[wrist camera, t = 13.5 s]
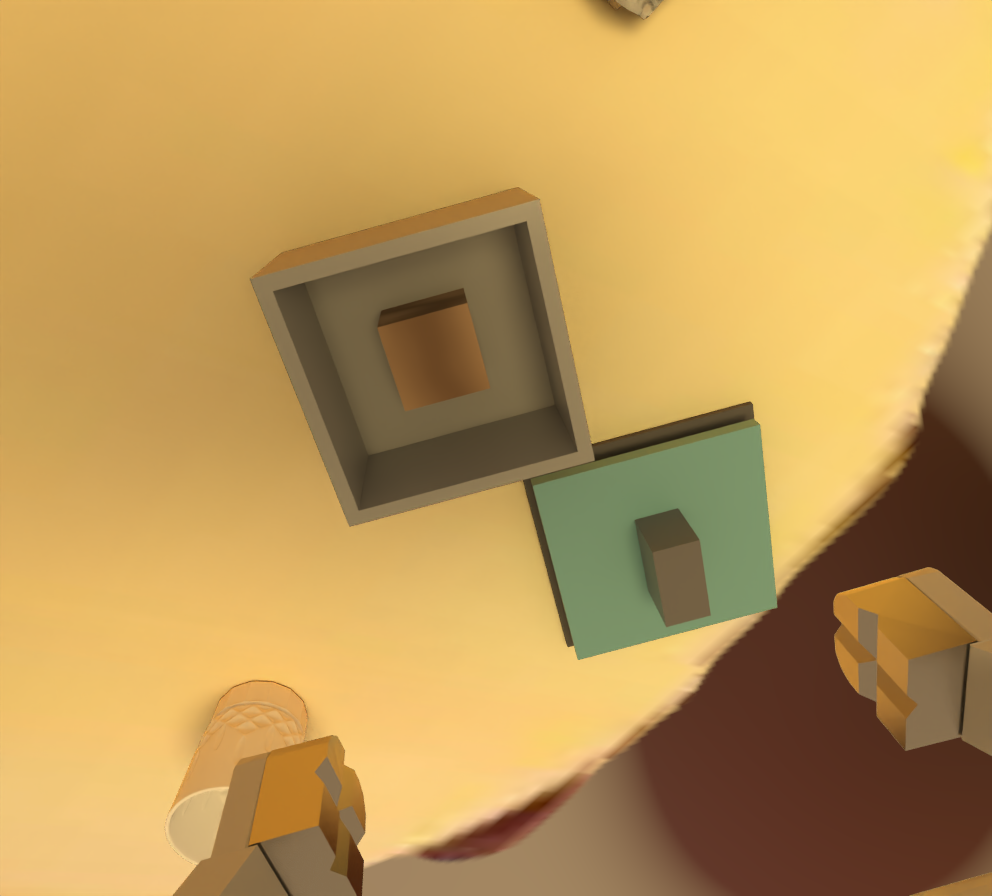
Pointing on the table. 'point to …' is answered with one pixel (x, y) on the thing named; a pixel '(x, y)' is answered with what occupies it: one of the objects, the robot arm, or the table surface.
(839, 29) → the table surface
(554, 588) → the rubber mat
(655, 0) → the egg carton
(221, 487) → the table surface
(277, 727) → the tan cup
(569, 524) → the lid
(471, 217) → the storage box
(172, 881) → the table surface
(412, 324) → the block
